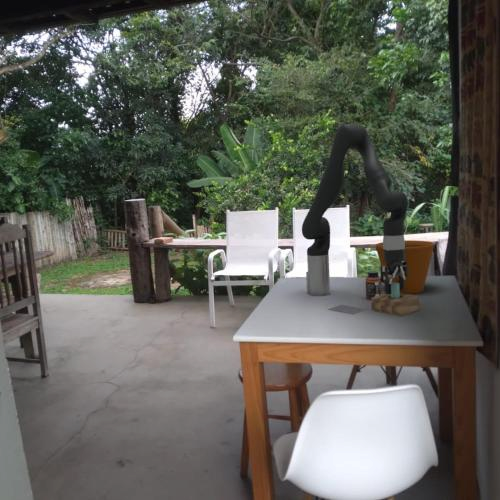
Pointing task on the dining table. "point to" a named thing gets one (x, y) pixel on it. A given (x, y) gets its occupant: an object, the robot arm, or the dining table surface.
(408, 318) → the dining table surface
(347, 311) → the mat
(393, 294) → the peg
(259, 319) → the dining table surface
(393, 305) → the hole block
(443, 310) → the dining table surface
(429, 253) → the flower pot
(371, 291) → the supplement bottle
